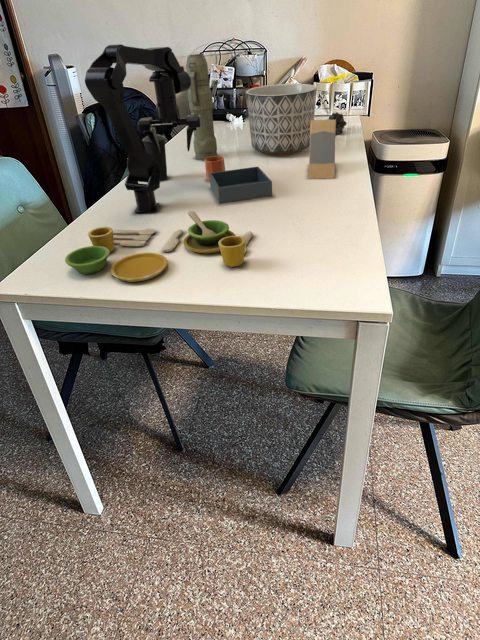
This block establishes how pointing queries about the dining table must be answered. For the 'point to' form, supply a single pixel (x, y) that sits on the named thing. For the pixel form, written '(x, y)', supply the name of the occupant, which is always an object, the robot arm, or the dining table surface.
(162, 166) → the drinking cup
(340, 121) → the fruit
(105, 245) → the tableware set
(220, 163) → the coffee cup
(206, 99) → the thermos
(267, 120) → the planter
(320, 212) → the dining table surface
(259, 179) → the tote
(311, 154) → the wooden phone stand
